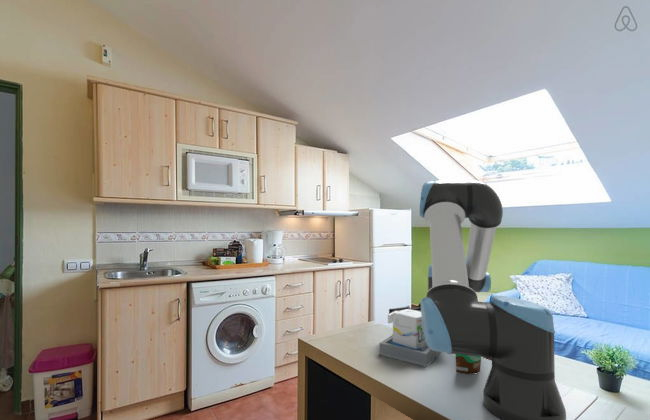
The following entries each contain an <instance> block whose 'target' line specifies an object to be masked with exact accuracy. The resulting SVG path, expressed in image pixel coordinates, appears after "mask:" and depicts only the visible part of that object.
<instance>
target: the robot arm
mask: <svg viewBox="0 0 650 420" xmlns="http://www.w3.org/2000/svg"><path fill="white" fill-rule="evenodd" d="M503 215H504V211H503V205H502V202H501V199H500V197H499V196H498V194H497V193H496V191H495V190H494V189H493V188H492V187H491V186H490V185H488V184H486V183H484V182H482V181H479V180H471V179H470V180H434V181H433V180H431V181H426V182H424V183H423V185H422V187H421V192H420V201H419V217H421V218H423V219H424V221H425V223H426V224H427V225H428V226H429V233H430V234H429V235H430V237H429V238H430V256H431V257H430V260H431V261H430V262H431V264H430V265H429V266H428V268H427V269H428V271H427V292H426V296H425V297H423V298H421V300H420V302H419V303H418V305H417V306H416V307H411V306H410V305H407V306H402V307H396V308H395V307H394V308H389V309H388V314H387V323H388V324H391V323H392V324H393V312H397V311H401V310H405V309H409V310H416V311H420V312H421V316H422V326H423V332H424V337H425V341H426V344H427V346H428V347H429V348H430V349H431V350H433V351H439V352H440V353H444V354H447V355H450V354H453V355H456V354H461V355H471V356H480V357H481V358H490V359H491V369H490V371H489V374H488V377H487V380H486V383H485V385H484V388H483V391H482V393H483V394H482V396H483V398H482V400H483V401H482V402H483V405H484V406H485V408H486V409H487V410H488V411H489V412H490V413H491V414H493V415H494V416H496V417H497V418H499V419H501V420H567V411H566V408H565V405H564V402H563V400H562V397H561V394H560V391H559V388H558V385H557V382H556V378H555V377H556V375H555V370H556V369H555V364H556V363H555V333H556V330H555V325H554V315H553V313H552V311H551V310H550V309H549V308H548V307H546V306H544V305H541V304H539V303H535V302H532V301H529V300H525V299H520V298H516V297H513V296H512V297H511V296H505V295H492V296H491V298H490V300H489V301H490V302H487V301H486V302H485V301H479V300H478V294H477V293H488V292H490V290H491V289H492V287H491V286H492V277H491V275H490V273H489V272H487V271H488V267H489V262H490V258H491V253H492V248H493V244H494V240H495V235H496V231H497V227H499V226H500V225H501V223H502V220H503V217H504V216H503ZM465 219H468V220H469V222H470V227H469V228H470V229H469V233H468V240H467V247H466V253H465V246H464V237H463V230H462V224H463V223H464V221H465Z"/></svg>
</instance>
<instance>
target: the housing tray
mask: <svg viewBox="0 0 650 420" xmlns="http://www.w3.org/2000/svg"><path fill="white" fill-rule="evenodd" d="M392 340H393V334H392V335H391V336H388V337H387V338H385V339H384V340H382V341H381V342H379V352H378V353H379V356H382V357H386V358H391V359H395V360H399V361H403V362H405V363H410V364H415V365H417V364H419V366H421V365H422V366H421V367H429V365H430V364H431V363H432V362H433V361H434V360H435V359H436V358H437V357H436V356H439V355H440V353H441V352H439V351H433V350H431V349H430V348H427V349H426V350H425V351H424V352H422V351H418V350H414V349H409V348H405V347H401V346H397V345H392ZM435 357H436V358H435ZM434 358H435V359H434ZM433 359H434V360H433ZM432 360H433V361H432ZM431 361H432V362H431ZM430 362H431V363H430ZM429 363H430V364H429ZM428 364H429V365H428Z"/></svg>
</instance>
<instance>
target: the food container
mask: <svg viewBox="0 0 650 420" xmlns="http://www.w3.org/2000/svg"><path fill="white" fill-rule="evenodd" d="M481 364H482V357H480V356H471V355H461V354H455V372H456V373H457V372H458V374H462V373H463V374H464V375H475V373H477V374H478V372H479V373H480V372H481Z"/></svg>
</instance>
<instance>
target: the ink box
mask: <svg viewBox="0 0 650 420" xmlns="http://www.w3.org/2000/svg"><path fill="white" fill-rule="evenodd" d="M392 335H393V340H392V345H397V346H401V347H405V348H409V349H414V350H418V351H422V352H424V351H425V350H426V349H427V348H429V347H428V346H427V344H426V341H425V337H424V332H423V326H422V316H421V312H420V311H416V310H409V309H405V310H401V311H397V312H393V322H392Z"/></svg>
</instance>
